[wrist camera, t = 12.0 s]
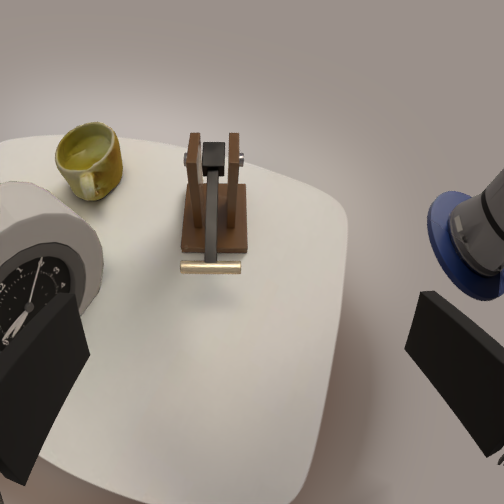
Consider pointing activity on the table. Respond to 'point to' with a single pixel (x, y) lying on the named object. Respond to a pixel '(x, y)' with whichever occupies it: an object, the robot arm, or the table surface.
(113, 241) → the table surface
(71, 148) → the mug
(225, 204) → the wooden lever stand
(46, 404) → the robot arm
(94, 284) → the alarm clock
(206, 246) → the switch lever
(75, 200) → the table surface
